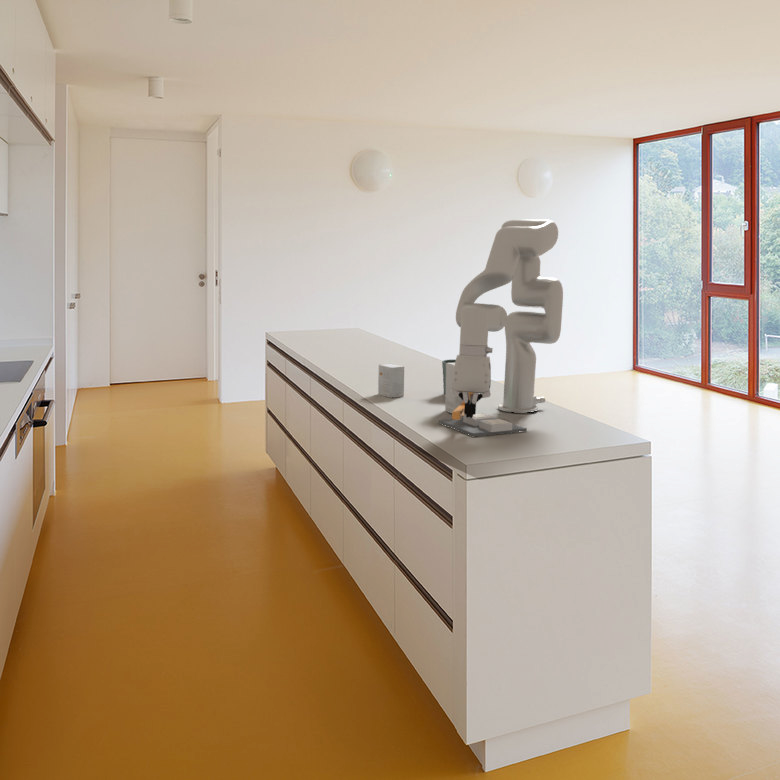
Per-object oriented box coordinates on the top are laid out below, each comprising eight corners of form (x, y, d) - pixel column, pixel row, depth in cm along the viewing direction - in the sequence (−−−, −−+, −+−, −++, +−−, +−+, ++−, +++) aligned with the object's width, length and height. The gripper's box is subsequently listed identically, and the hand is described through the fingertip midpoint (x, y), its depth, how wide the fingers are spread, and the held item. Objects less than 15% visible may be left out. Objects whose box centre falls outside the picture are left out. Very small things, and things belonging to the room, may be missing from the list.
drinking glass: (474, 394, 274) (475, 361, 272) (463, 399, 266) (464, 364, 263) (447, 391, 279) (449, 358, 277) (436, 395, 270) (437, 361, 268)
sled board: (489, 418, 235) (490, 391, 233) (527, 432, 219) (529, 402, 217) (438, 423, 226) (439, 394, 225) (474, 437, 210) (476, 406, 209)
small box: (404, 396, 266) (405, 366, 264) (390, 398, 263) (391, 367, 261) (390, 393, 273) (391, 363, 271) (377, 394, 270) (378, 364, 268)
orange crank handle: (460, 404, 231) (461, 386, 230) (478, 406, 230) (479, 387, 229) (446, 418, 211) (447, 398, 210) (465, 420, 210) (466, 400, 209)
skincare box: (472, 415, 239) (475, 365, 236) (452, 416, 237) (455, 365, 235) (462, 409, 247) (465, 361, 244) (443, 410, 245) (445, 361, 242)
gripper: (501, 351, 214) (498, 416, 217) (448, 348, 217) (445, 412, 220) (499, 354, 207) (495, 421, 210) (443, 351, 210) (440, 417, 213)
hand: (469, 416), depth 215 cm, fingers closed
